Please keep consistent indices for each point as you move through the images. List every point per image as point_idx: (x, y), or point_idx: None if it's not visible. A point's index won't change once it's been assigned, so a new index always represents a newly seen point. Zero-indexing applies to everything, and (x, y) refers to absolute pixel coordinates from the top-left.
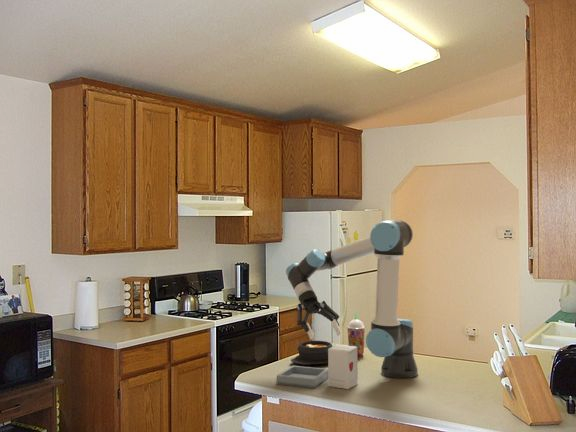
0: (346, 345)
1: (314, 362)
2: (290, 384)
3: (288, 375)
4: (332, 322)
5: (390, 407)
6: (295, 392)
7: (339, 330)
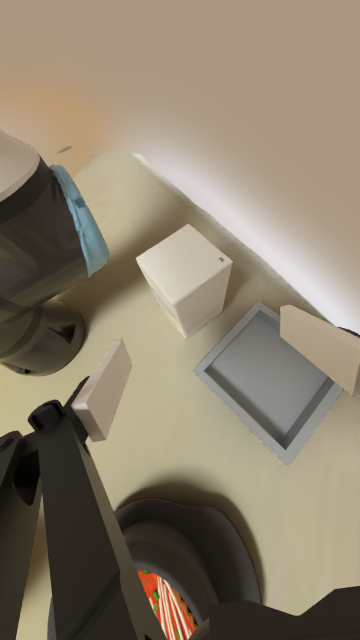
0: (155, 280)
1: (186, 513)
2: None
3: (303, 411)
4: (102, 420)
5: (177, 205)
6: (300, 300)
7: (120, 343)
